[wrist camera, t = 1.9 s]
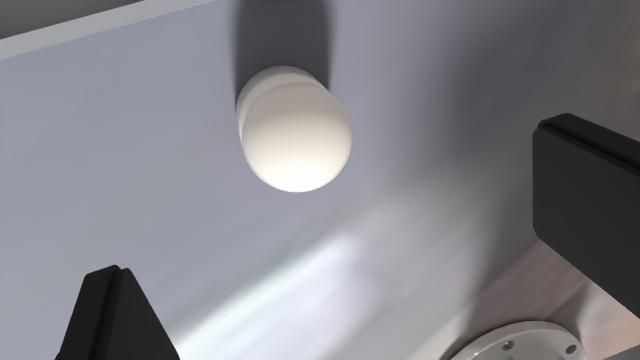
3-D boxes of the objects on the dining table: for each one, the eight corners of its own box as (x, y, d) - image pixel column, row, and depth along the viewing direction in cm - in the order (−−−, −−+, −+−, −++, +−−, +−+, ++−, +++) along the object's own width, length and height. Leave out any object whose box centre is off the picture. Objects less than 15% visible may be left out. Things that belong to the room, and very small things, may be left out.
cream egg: (336, 140, 23) (376, 190, 18) (251, 167, 22) (267, 226, 17) (316, 53, 21) (353, 80, 16) (222, 81, 20) (229, 118, 15)
